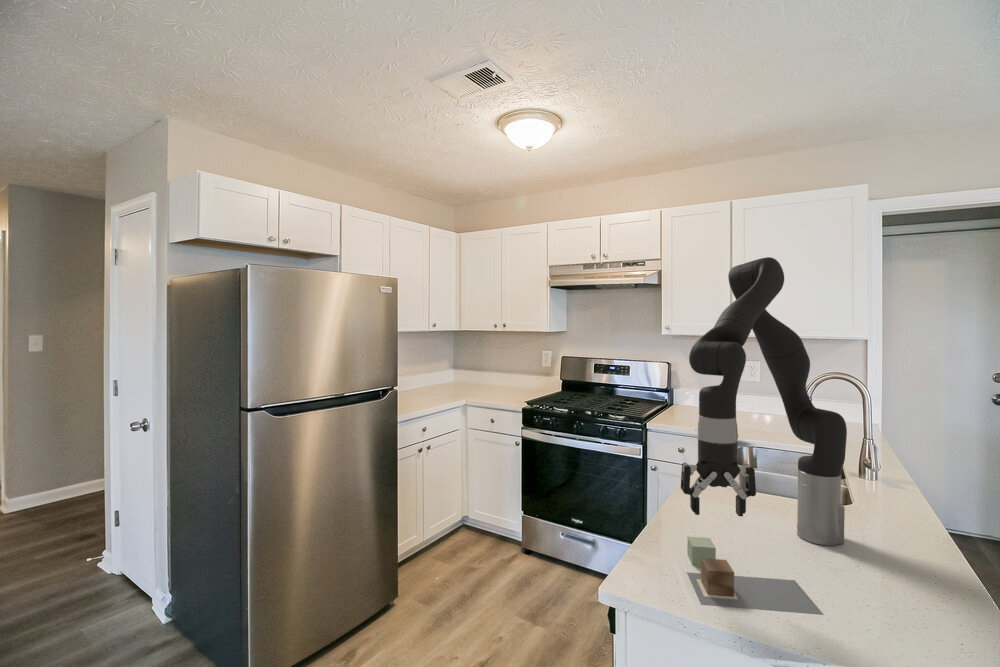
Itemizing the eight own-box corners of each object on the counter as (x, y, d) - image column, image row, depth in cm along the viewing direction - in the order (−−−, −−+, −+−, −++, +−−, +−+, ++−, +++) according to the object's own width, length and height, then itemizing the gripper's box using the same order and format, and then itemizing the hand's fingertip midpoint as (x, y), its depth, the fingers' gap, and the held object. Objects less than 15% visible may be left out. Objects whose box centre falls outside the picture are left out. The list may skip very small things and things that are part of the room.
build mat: (794, 582, 102) (794, 579, 102) (823, 617, 90) (823, 613, 90) (686, 575, 105) (686, 571, 105) (701, 607, 93) (701, 603, 93)
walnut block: (726, 583, 101) (726, 559, 100) (733, 596, 96) (734, 572, 96) (701, 581, 101) (701, 558, 101) (707, 594, 96) (707, 570, 96)
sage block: (709, 558, 112) (709, 537, 112) (715, 569, 108) (715, 547, 107) (687, 557, 113) (687, 536, 113) (692, 567, 108) (692, 546, 108)
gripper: (746, 433, 102) (747, 508, 102) (677, 432, 104) (677, 506, 104) (761, 442, 94) (761, 523, 95) (686, 441, 96) (686, 520, 97)
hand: (717, 514), depth 100 cm, fingers open, 8 cm apart
